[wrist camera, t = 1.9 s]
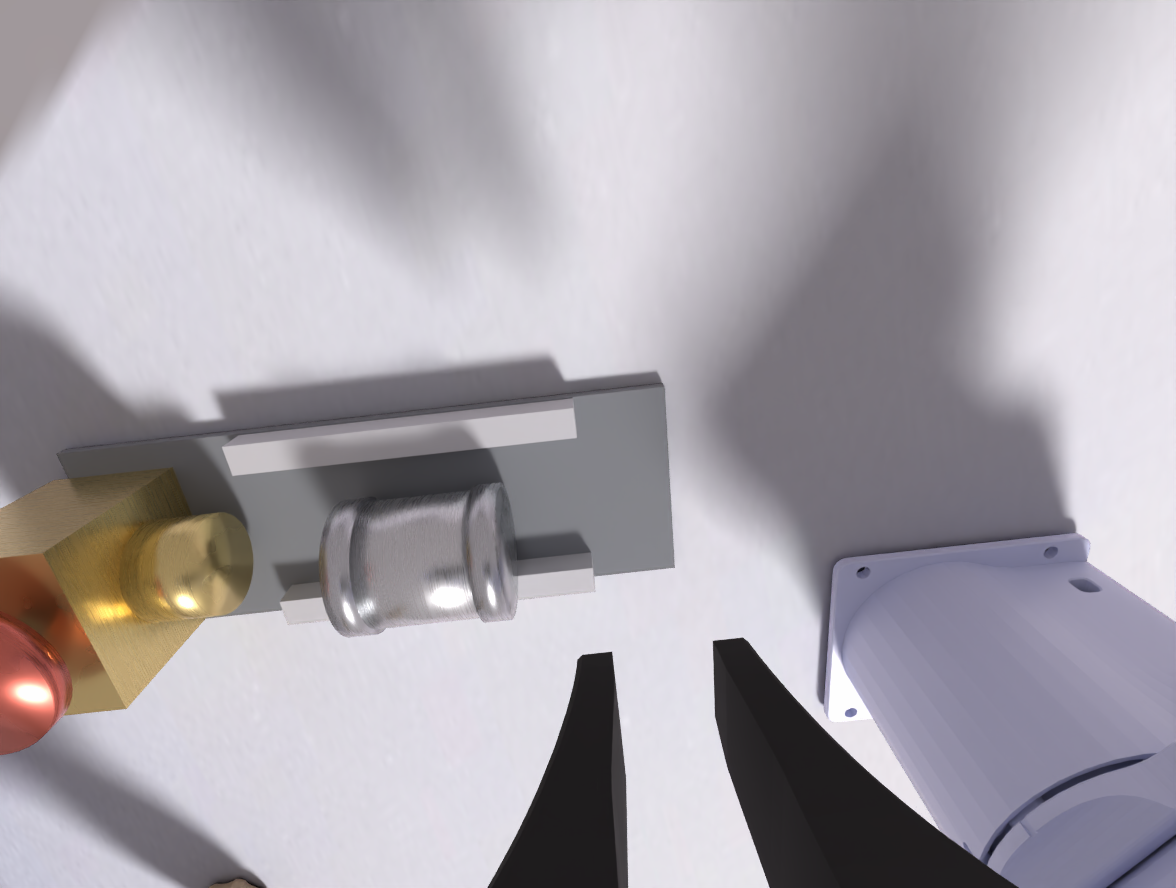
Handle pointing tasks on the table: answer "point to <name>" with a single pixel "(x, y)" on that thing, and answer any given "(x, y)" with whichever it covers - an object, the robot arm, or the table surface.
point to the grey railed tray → (434, 484)
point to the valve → (105, 593)
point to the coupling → (419, 560)
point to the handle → (233, 884)
